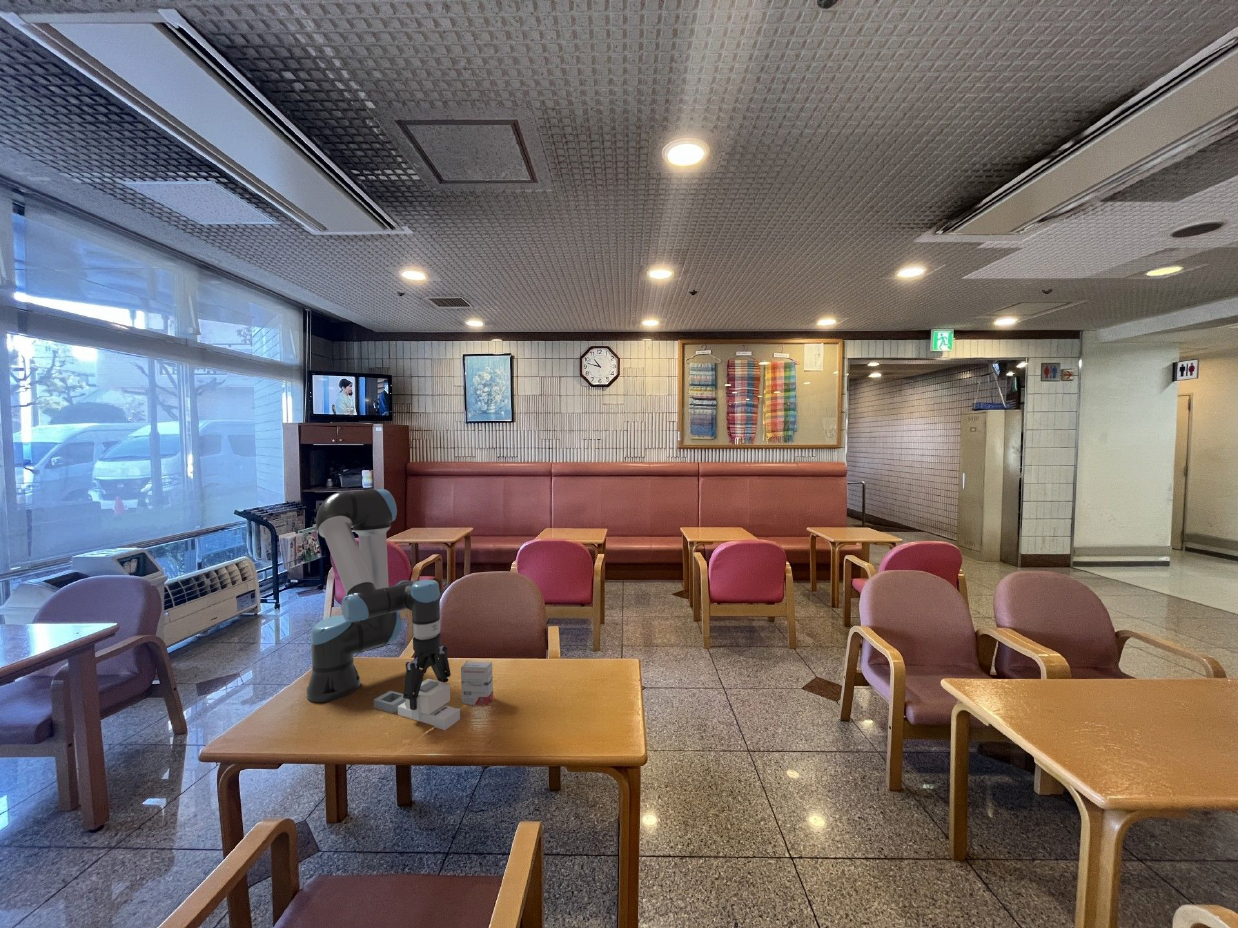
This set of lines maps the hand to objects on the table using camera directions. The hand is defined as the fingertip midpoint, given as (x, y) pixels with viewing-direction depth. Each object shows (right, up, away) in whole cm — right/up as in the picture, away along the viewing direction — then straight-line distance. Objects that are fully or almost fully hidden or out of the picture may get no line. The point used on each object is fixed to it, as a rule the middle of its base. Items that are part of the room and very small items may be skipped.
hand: (428, 711), depth 144 cm
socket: (0, -2, 0) cm, 2 cm away
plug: (0, 0, 0) cm, 0 cm away
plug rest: (-14, -2, +6) cm, 15 cm away
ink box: (+12, -2, +9) cm, 15 cm away
